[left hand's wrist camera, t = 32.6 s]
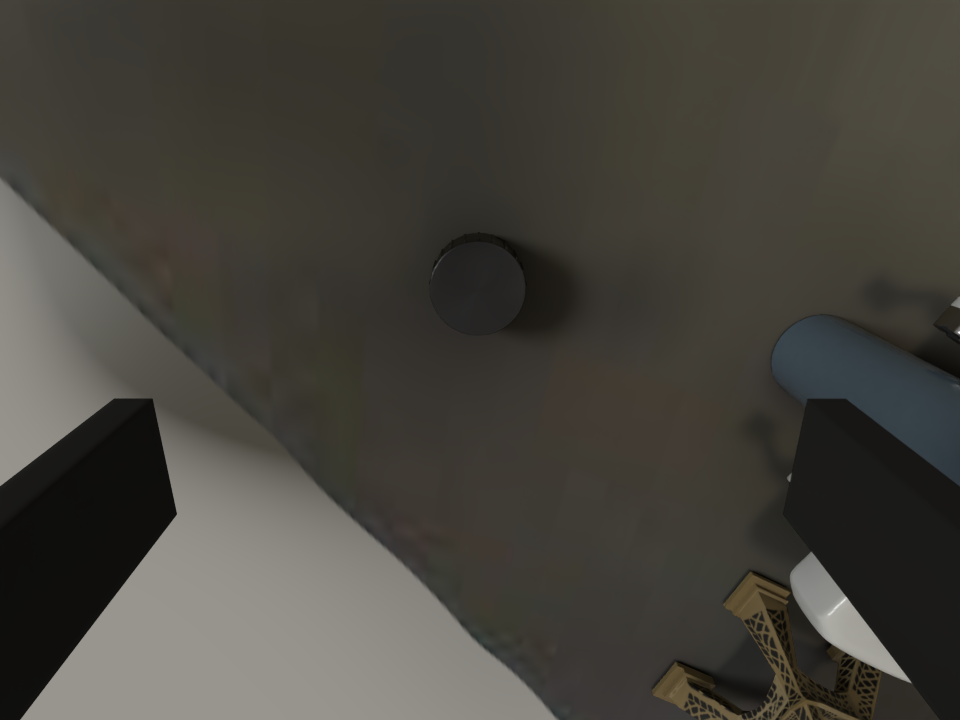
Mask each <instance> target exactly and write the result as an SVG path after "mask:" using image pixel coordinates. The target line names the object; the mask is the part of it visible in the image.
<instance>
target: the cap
mask: <svg viewBox="0 0 960 720" xmlns="http://www.w3.org/2000/svg"><path fill="white" fill-rule="evenodd" d="M432 270H433V273H432V276H431V279H430V282H429V284H430V297H431V300H432V303H433V306H434V308H435V310H436V312H437V314H438V315H439V316H440V318H441V319H442V320H443V321H444V322H445V323H446V324H447V325H449V326H450V327H452V328H453V329H455V330H457V331H459V332H462V333H465V334H470V335H486V334H491V333H494V332H497V331H499V330H501V329H503V328H504V327H506V326H507V325H508V324H510V323H511V322H512V321H513V320H514V319H515V318H516V316H517V315H518V313H519V312H520V310H521V308H522V305H523V303H524V300H525V294H526V286H527V285H526V281H525V277H524V274H523V272H524V269H523V266H522V263H521V262H520V261H519V259H518V257H517V255H516V252H515V250H514V251H513V250H512V248H511V247H510V246H509V245H508V244H506V241H502V240H501V239H499V238H497V237H495V236H493V235H488V234H482V233H480V232H478V233H474V234H468V235H466V234H464V236H461V237H459V238H457V239H455V240H452V241H451V243H449V244H448V245H447V246H446V247H445V248H444V249H442V250H441V253H440V255H439V257H438V259H437V261H436V260H435V263H434V266H433V269H432Z"/></svg>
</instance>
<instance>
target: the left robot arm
mask: <svg viewBox="0 0 960 720" xmlns="http://www.w3.org/2000/svg"><path fill="white" fill-rule="evenodd" d="M176 515H177V512H176V507H175V503H174V498H173V493H172V488H171V484H170V479H169V474H168V470H167V465H166V460H165V455H164V451H163V446H162V441H161V436H160V432H159V427H158V423H157V418H156V413H155V408H154V403H153V399H113V400H112V401H111V402H109V403H108V404H107V405H105V406H104V407H103V408H101V409H100V410H99V411H98V412H96V413H95V414H94V415H92V416H91V417H90V418H88V419H87V420H86V421H85V422H83V423H82V424H81V425H79V426H78V427H77V428H75V429H74V430H73V431H72V432H70V433H69V434H68V435H66V436H65V437H64V438H62V439H61V440H60V441H58V442H57V443H56V444H55V445H53V446H52V447H51V448H49V449H48V450H47V451H46V452H44V453H43V454H42V455H40V456H39V457H38V458H36V459H35V460H34V461H32V462H31V463H30V464H29V465H27V466H26V467H25V468H23V469H22V470H21V471H20V472H18V473H17V474H16V475H14V476H13V477H12V478H10V479H9V480H8V481H7V482H5V483H4V484H3V485H1V486H0V720H20V719H21V718H22V717H23V715H24V714H25V713H26V711H27V710H28V709H29V707H30V706H31V705H32V704H33V702H34V701H35V700H36V698H37V697H38V696H39V694H40V693H41V692H42V690H43V689H44V688H45V686H46V685H47V684H48V682H49V681H50V680H51V679H52V677H53V676H54V675H55V673H56V672H57V671H58V669H59V668H60V667H61V665H62V664H63V663H64V662H65V660H66V659H67V658H68V656H69V655H70V654H71V652H72V651H73V650H74V649H75V647H76V646H77V645H78V643H79V642H80V641H81V639H82V638H83V637H84V635H85V634H86V633H87V631H88V630H89V629H90V628H91V626H92V625H93V624H94V622H95V621H96V620H97V618H98V617H99V616H100V614H101V613H102V612H103V611H104V609H105V608H106V607H107V605H108V604H109V603H110V601H111V600H112V599H113V597H114V596H115V595H116V593H117V592H118V591H119V590H120V588H121V587H122V586H123V584H124V583H125V582H126V580H127V579H128V578H129V576H130V575H131V574H132V573H133V571H134V570H135V569H136V567H137V566H138V565H139V563H140V562H141V561H142V559H143V558H144V557H145V555H146V554H147V553H148V551H149V550H150V549H151V548H152V546H153V545H154V544H155V542H156V541H157V540H158V538H159V537H160V536H161V535H162V533H163V532H164V531H165V529H166V528H167V527H168V525H169V524H170V523H171V521H172V520H173V519H174V518H175V516H176ZM783 515H784V516H785V518H786V519H787V520H788V521H789V523H790V524H791V525H792V527H793V528H794V529H795V531H796V532H797V533H798V535H799V536H800V537H801V538H802V540H803V541H804V542H805V544H806V545H807V546H808V548H809V549H810V550H811V552H812V553H813V554H814V556H815V557H816V558H817V559H818V561H819V562H820V563H821V565H822V566H823V567H824V569H825V570H826V571H827V573H828V574H829V575H830V576H831V578H832V579H833V580H834V582H835V583H836V584H837V586H838V587H839V588H840V590H841V591H842V592H843V593H844V595H845V596H846V597H847V599H848V600H849V601H850V603H851V604H852V605H853V607H854V608H855V609H856V611H857V612H858V613H859V614H860V616H861V617H862V618H863V620H864V621H865V622H866V624H867V625H868V626H869V628H870V629H871V630H872V631H873V633H874V634H875V635H876V637H877V638H878V639H879V641H880V642H881V643H882V645H883V646H884V647H885V649H886V650H887V651H888V652H889V654H890V655H891V656H892V658H893V659H894V660H895V662H896V663H897V664H898V666H899V667H900V668H901V669H902V671H903V672H904V673H905V675H906V676H907V677H908V679H909V680H910V681H911V683H912V684H913V685H914V686H915V688H916V689H917V690H918V692H919V693H920V694H921V696H922V697H923V698H924V700H925V701H926V702H927V704H928V705H929V706H930V707H931V709H932V710H933V711H934V713H935V714H936V715H937V717H938V718H939V719H940V720H960V486H959V485H957V484H956V483H955V482H954V481H952V480H951V479H950V478H948V477H947V476H946V475H944V474H943V473H942V472H941V471H939V470H938V469H937V468H935V467H934V466H933V465H931V464H930V463H929V462H928V461H926V460H925V459H924V458H922V457H921V456H920V455H918V454H917V453H916V452H915V451H913V450H912V449H911V448H909V447H908V446H907V445H905V444H904V443H903V442H902V441H900V440H899V439H898V438H896V437H895V436H894V435H892V434H891V433H890V432H888V431H887V430H886V429H885V428H883V427H882V426H881V425H879V424H878V423H877V422H875V421H874V420H873V419H872V418H870V417H869V416H868V415H866V414H865V413H864V412H862V411H861V410H860V409H859V408H857V407H856V406H855V405H853V404H852V403H851V402H849V401H848V400H847V399H807V403H806V408H805V413H804V418H803V422H802V427H801V432H800V436H799V441H798V446H797V451H796V455H795V460H794V465H793V470H792V474H791V479H790V484H789V488H788V493H787V498H786V503H785V507H784V512H783Z"/></svg>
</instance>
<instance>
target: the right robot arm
mask: <svg viewBox="0 0 960 720" xmlns="http://www.w3.org/2000/svg"><path fill="white" fill-rule="evenodd" d="M933 325H934V326H935V327H936V328H937V329H939V330H941V331H943V332H945V333H946V335H947V336H948V337H949V338H951V339H952V340H953V341H955V342H956V343H957V344H960V296H959V297H958V298H957V299H956V300H955V301H954V302H953V303H952V304H951V305H950V306H949V307H948V308H947V309H946V311H945V312H944V313H943V314H942V315H941V316H940V317H939V318H938V319H937V321H936V322H935V323H934V324H933ZM791 474H792V473H791ZM791 474H790V475H789V476H788V477H787V480H788V481H789V482H790V479H791ZM790 582H791V588H792V592H793V595H794V598H795V599H796V601H797V603H798V605H799V606H800V608H801V609H802V611H803V613H804V614H805V615H806V617H807V618H808V620H809V621H810V622H811V624H812V625H813V626H814V627H815V629H816V630H817V631H818V632H819V633H820V634H821V635H822V637H824V638H825V639H826V640H827V641H828V642H829V643H831V644H832V645H834V646H836V647H837V648H839V649H840V650H842V651H844V652H845V653H847V654H849V655H851V656H853V657H855V658H856V659H858V660H860V661H862V662H864V663H866V664H868V665H870V666H872V667H874V668H877V669H879V670H881V671H883V672H885V673H887V674H890V675H892V676H894V677H897V678H899V679H902V680H904V681H907V682H909V683H911V681H910V680H909V679H908V677H907V676H906V675H905V673H904V672H903V671H902V669H901V668H900V667H899V666H898V664H897V663H896V662H895V660H894V659H893V658H892V656H891V655H890V654H889V652H888V651H887V650H886V649H885V647H884V646H883V645H882V643H881V642H880V641H879V639H878V638H877V637H876V635H875V634H874V633H873V631H872V630H871V629H870V628H869V626H868V625H867V624H866V622H865V621H864V620H863V618H862V617H861V616H860V614H859V613H858V612H857V611H856V609H855V608H854V607H853V605H852V604H851V603H850V601H849V600H848V599H847V597H846V596H845V595H844V593H843V592H842V591H841V590H840V588H839V587H838V586H837V584H836V583H835V582H834V580H833V579H832V578H831V576H830V575H829V574H828V573H827V571H826V570H825V569H824V567H823V566H822V565H821V563H820V562H819V561H818V559H817V558H816V557H815V556H814V554H813V553H812V552H810V553H809V554H808V555H807V556H806V557H805V558H804V559H803V560H802V561H801V562H800V563H799V564H798V565H797V566H796V567H795V568H794V569H793V570H792V572H791V574H790Z"/></svg>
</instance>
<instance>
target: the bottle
mask: <svg viewBox="0 0 960 720" xmlns="http://www.w3.org/2000/svg"><path fill="white" fill-rule="evenodd" d="M771 366H772V372H773V376H774V378H775V380H776V382H777V383H778V385H779V386H780V387H781V388H782V389H783V390H785V391H786V392H787V393H788V394H789V395H791V396H792V397H793V398H794V399H795V400H796V401H798V402H799V403H800V404H801V405H802V406H804V407H805V408H806V403H807V399H847V400H848V401H849V402H851V403H852V404H853V405H855V406H856V407H857V408H859V409H860V410H861V411H862V412H864V413H865V414H866V415H868V416H869V417H870V418H872V419H873V420H874V421H875V422H877V423H878V424H879V425H881V426H882V427H883V428H885V429H886V430H887V431H888V432H890V433H891V434H892V435H894V436H895V437H896V438H898V439H899V440H900V441H902V442H903V443H904V444H905V445H907V446H908V447H909V448H911V449H912V450H913V451H915V452H916V453H917V454H918V455H920V456H921V457H922V458H924V459H925V460H926V461H928V462H929V463H930V464H931V465H933V466H934V467H935V468H937V469H938V470H939V471H941V472H942V473H943V474H944V475H946V476H947V477H948V478H950V479H951V480H952V481H954V482H955V483H956V484H957V485H959V486H960V379H959V378H957V377H955V376H953V375H951V374H950V373H948V372H946V371H944V370H942V369H940V368H938V367H936V366H934V365H932V364H930V363H928V362H926V361H924V360H922V359H920V358H918V357H916V356H914V355H912V354H910V353H908V352H907V351H905V350H903V349H901V348H899V347H897V346H895V345H893V344H891V343H889V342H887V341H885V340H883V339H881V338H879V337H877V336H875V335H873V334H871V333H869V332H867V331H866V330H864V329H862V328H860V327H858V326H856V325H854V324H852V323H850V322H848V321H846V320H844V319H842V318H840V317H837V316H832V315H816V316H812V317H808V318H805V319H803V320H801V321H799V322H797V323H795V324H794V325H792V326H791V327H790V328H789V329H788V330H787V331H786V332H785V333H784V334H783V335H782V336H781V337H780V339H779V340H778V342H777V344H776V346H775V348H774V351H773V354H772V362H771Z"/></svg>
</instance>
